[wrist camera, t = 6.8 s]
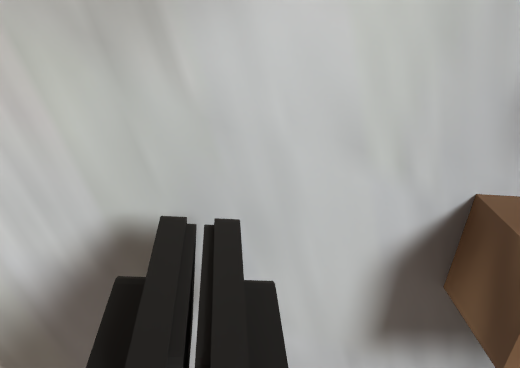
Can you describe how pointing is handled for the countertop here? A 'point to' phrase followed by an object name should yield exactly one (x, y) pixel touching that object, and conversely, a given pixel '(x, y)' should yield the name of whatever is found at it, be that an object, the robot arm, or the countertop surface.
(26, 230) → the countertop surface
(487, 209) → the T block
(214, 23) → the countertop surface
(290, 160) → the countertop surface
